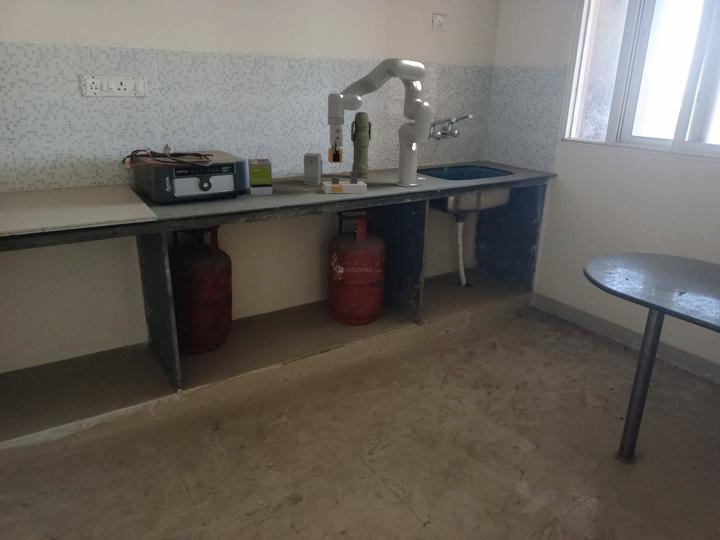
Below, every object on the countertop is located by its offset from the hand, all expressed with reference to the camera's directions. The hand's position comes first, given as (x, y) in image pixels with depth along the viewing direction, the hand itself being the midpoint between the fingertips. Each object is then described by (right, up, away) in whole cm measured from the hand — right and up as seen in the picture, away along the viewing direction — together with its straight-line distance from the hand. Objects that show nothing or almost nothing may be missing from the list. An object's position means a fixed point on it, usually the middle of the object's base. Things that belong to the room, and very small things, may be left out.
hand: (335, 160), depth 250 cm
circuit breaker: (-13, -6, +27) cm, 30 cm away
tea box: (-35, -15, 0) cm, 39 cm away
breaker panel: (+4, -14, +6) cm, 16 cm away
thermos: (+12, 0, +45) cm, 47 cm away
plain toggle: (+9, -11, +6) cm, 16 cm away
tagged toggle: (0, -14, +5) cm, 15 cm away
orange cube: (0, -1, 0) cm, 1 cm away
